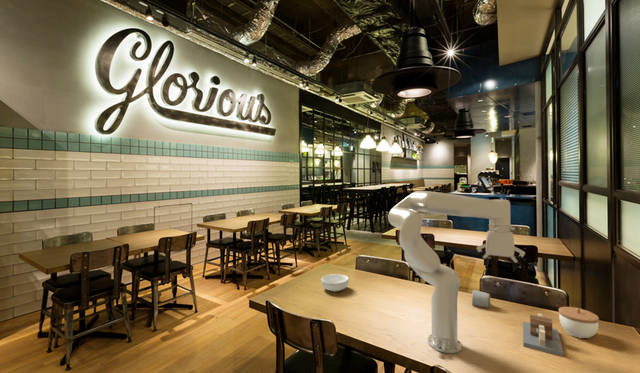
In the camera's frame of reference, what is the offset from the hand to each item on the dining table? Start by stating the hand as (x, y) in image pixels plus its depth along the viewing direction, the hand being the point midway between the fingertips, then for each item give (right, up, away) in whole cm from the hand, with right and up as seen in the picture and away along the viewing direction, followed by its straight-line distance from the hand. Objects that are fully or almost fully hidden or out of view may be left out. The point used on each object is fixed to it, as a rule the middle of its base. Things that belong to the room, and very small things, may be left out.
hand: (499, 269), depth 119 cm
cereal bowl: (-67, -29, +54) cm, 91 cm away
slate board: (+15, -28, -3) cm, 32 cm away
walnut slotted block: (+15, -27, -3) cm, 31 cm away
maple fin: (+15, -27, -3) cm, 31 cm away
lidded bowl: (+33, -28, 0) cm, 44 cm away
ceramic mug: (+9, -28, +30) cm, 42 cm away
